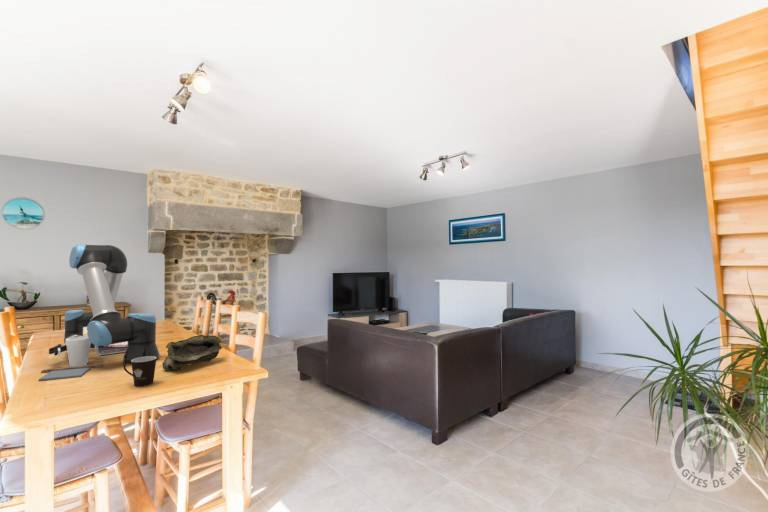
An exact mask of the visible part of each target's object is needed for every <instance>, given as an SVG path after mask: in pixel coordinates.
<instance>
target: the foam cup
mask: <svg viewBox="0 0 768 512" xmlns="http://www.w3.org/2000/svg"><path fill="white" fill-rule="evenodd" d="M90 345H91V341H90V340H89V338H88V335H83V336H79V337H72V338H67V339H66V346H67V351H66V352H67V357H68V358H67V359H68V362H69V363H68V365H69V367H78V366H88V364H89V363H88V362H89V355H90V351H91V348H90Z"/></svg>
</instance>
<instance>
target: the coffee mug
mask: <svg viewBox="0 0 768 512" xmlns="http://www.w3.org/2000/svg"><path fill="white" fill-rule="evenodd" d="M156 358H157V357H154V356H146V357H139V358H135V359H132V360H131V362H127V363H123V370H124V371H125V372H126V373H127V374H129V376H132V377H133V385H134V387H138V388H139V387H147V386H150V385H152V384H153V383H154V380H155V379H154V378H155V371H156V364H157V360H156ZM127 365H131V370H132V373H131V371H129V370H127V368H126V366H127Z"/></svg>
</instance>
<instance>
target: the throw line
mask: <svg viewBox="0 0 768 512" xmlns="http://www.w3.org/2000/svg"><path fill="white" fill-rule="evenodd" d="M90 367H91V369H98V368H103V367H104V363H102V364H93V365H92V364H89V365H86V366H78V367H70V366H69V367H60V368H59V367H58V368H47V369H42V370H40V374H48V373H49V372H51V371H58V370H68V369H79V368H90Z"/></svg>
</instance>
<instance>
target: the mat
mask: <svg viewBox="0 0 768 512" xmlns="http://www.w3.org/2000/svg"><path fill="white" fill-rule="evenodd" d="M91 369H92V368H91V367H90V368H79V369H68V370H58V371H51V372H48V373H45V375H43V376H42V377H40V378H38V382H46V381H55V380H64V379H74V378H81V377H83V376H84V375H85V374H86V373H88V372H89V371H90V370H91Z"/></svg>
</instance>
